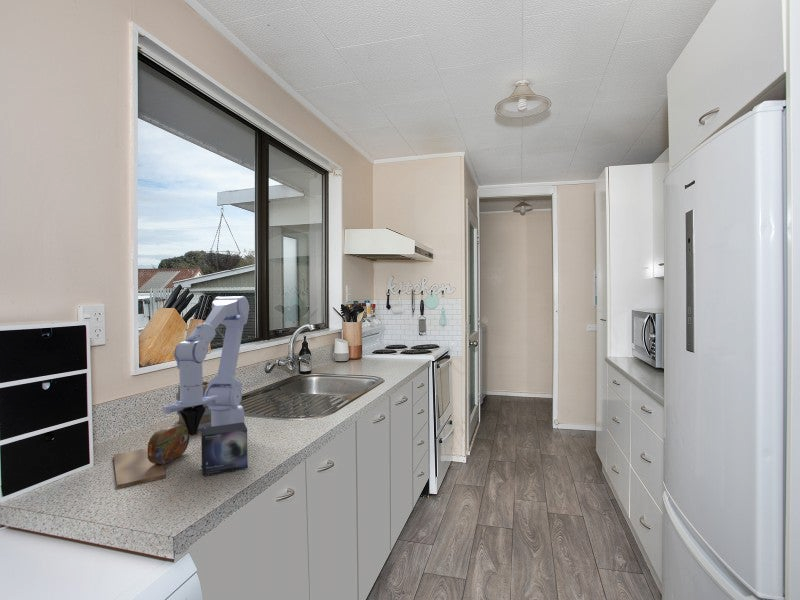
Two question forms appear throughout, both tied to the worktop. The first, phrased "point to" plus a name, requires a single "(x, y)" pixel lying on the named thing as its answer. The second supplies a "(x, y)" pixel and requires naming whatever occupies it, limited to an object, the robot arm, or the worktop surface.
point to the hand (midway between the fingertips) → (192, 434)
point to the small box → (224, 448)
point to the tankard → (206, 416)
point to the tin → (168, 444)
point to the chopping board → (136, 468)
